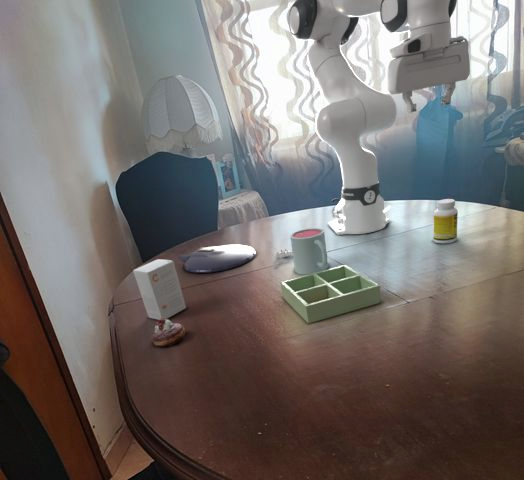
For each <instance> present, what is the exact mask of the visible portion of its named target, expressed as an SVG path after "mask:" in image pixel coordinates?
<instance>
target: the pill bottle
mask: <svg viewBox="0 0 524 480" xmlns="http://www.w3.org/2000/svg"><path fill="white" fill-rule="evenodd" d="M455 206H456V200H455V199H453V198H444V199H443V198H442V199H439V200H437V201H436V209H435V210H434V211H433V220H432V221H433V229H432V230H433V233H432V237H433V238H432V239H433V242H434V243H436V244H450V243H451V244H452V243H454V242H456V240H457V237H458V213H459V212H458V209H457V208H456V207H455Z"/></svg>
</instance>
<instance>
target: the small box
mask: <svg viewBox="0 0 524 480" xmlns="http://www.w3.org/2000/svg"><path fill="white" fill-rule="evenodd" d="M132 271H133V275H134V278H135V280H136V281H135V282H136V284H137V287H138V290H139V292H140V296H141V299H142V302H143V304H144V305H143V306H144V308H145V310H146V313H147V317H148V318H150V319H154V320H157V321H159V320H160V319H161V318H162V317H164V318H165V319H166V320H169V318H171V317H172V316H174V315H176V314H178V313H180V312H182V311H183V310H185V309H187V306H186V301H185V299H184V295H183V292H182V288H181V284H180V280H179V277H178V273H177V270H176V266H175V262H174V260H170V259H162V258H161V259H160V258H157V259H155V260H153V261H151V262H148V263H146V264H143V265H142V266H139V267H137V268H135V269H133V270H132Z"/></svg>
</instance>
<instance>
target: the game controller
mask: <svg viewBox="0 0 524 480" xmlns="http://www.w3.org/2000/svg"><path fill="white" fill-rule="evenodd" d="M284 257H286V258H287V257H293V253H292V250H289V249H287V248H284V251H283V249H280V251H276V252H275V258H279V260H281V259H282V258H284ZM280 262H281V261H279V262H278V263H276V265H275V266H277V265H278V264H280Z"/></svg>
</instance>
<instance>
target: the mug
mask: <svg viewBox="0 0 524 480" xmlns="http://www.w3.org/2000/svg"><path fill="white" fill-rule="evenodd" d="M325 235H326V234H325V229H323V228H320V227H310V228H303V229H300V230H297V231H294V232H292V233H291V234H289V239H290V245H291V251H292V253H293V256H292V260H293V267H294V272H295V274H298V275H309V274H313V273H317V272H320V271H324V270H328V269H329V268H328V267H329V264H328V252H327V244H326V236H325Z"/></svg>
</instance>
